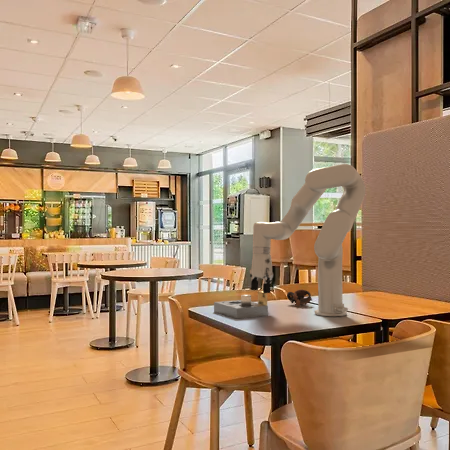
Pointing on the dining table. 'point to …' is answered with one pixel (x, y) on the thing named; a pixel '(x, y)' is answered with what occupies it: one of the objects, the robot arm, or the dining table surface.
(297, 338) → the dining table surface
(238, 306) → the jig
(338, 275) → the robot arm
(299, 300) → the brown animal figurine
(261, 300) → the bushing
